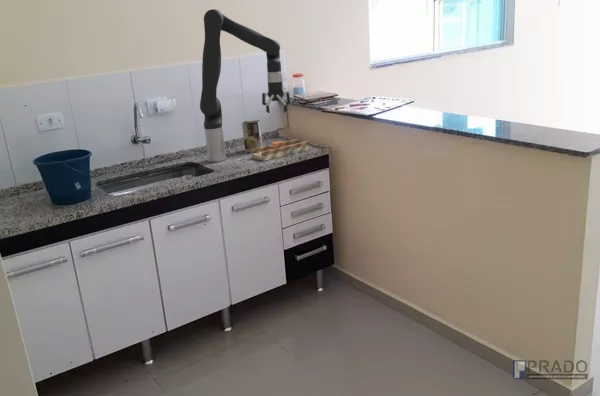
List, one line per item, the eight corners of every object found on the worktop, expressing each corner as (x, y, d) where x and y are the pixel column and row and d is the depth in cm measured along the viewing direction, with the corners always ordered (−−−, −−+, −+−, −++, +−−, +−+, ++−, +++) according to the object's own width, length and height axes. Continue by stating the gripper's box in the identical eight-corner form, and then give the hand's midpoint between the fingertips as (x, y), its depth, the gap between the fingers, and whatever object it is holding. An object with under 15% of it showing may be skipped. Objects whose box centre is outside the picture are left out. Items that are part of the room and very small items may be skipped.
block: (276, 151, 286) (276, 143, 285) (271, 150, 290) (270, 142, 289) (284, 149, 289) (284, 142, 288) (279, 148, 293) (278, 140, 292)
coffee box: (263, 148, 307) (260, 119, 302) (261, 151, 301) (258, 122, 296) (247, 149, 308) (244, 120, 303) (244, 152, 302) (241, 123, 297)
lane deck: (263, 161, 279) (262, 152, 278) (252, 157, 288) (251, 149, 286) (310, 149, 296) (309, 141, 294) (298, 146, 304) (297, 138, 303)
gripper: (259, 82, 276) (262, 114, 281) (287, 81, 274) (289, 113, 279) (262, 80, 283) (264, 112, 288) (289, 79, 281) (291, 111, 286)
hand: (276, 112), depth 284 cm, fingers open, 8 cm apart
